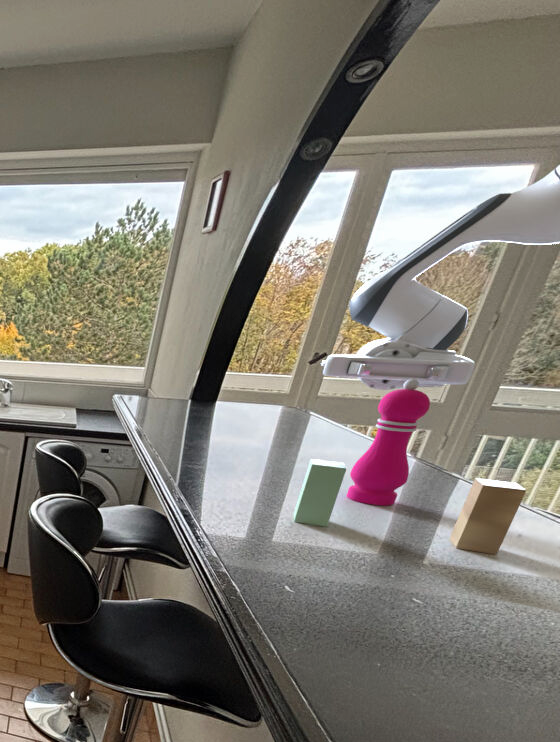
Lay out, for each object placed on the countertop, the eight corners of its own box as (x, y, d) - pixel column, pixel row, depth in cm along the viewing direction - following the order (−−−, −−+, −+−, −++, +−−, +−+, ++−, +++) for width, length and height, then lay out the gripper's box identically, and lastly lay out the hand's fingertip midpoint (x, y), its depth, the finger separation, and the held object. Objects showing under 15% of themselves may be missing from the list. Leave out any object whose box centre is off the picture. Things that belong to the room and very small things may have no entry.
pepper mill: (377, 508, 96) (423, 382, 88) (332, 495, 102) (371, 377, 95) (408, 504, 98) (456, 381, 90) (362, 492, 104) (403, 376, 97)
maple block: (488, 545, 81) (516, 482, 78) (496, 554, 78) (526, 490, 75) (448, 539, 83) (474, 478, 80) (455, 548, 80) (483, 484, 77)
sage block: (324, 519, 91) (344, 462, 87) (326, 527, 88) (346, 468, 84) (293, 514, 93) (310, 458, 89) (293, 521, 90) (312, 464, 86)
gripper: (324, 345, 116) (330, 350, 106) (467, 351, 106) (489, 356, 95) (314, 378, 119) (319, 385, 108) (453, 386, 108) (473, 395, 98)
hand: (400, 372), depth 102 cm, fingers open, 8 cm apart
